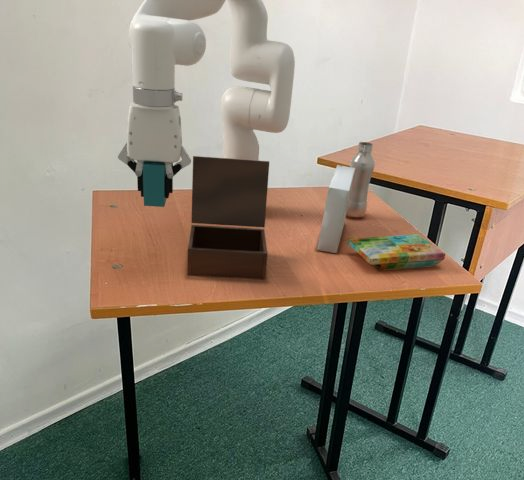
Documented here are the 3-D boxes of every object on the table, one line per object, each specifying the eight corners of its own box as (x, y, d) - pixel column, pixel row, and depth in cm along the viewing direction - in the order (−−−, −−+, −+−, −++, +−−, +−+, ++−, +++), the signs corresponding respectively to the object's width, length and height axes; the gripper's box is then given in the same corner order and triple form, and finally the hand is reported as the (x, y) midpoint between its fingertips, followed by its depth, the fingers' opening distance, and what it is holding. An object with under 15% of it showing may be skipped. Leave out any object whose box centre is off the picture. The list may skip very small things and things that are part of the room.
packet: (164, 207, 116) (163, 166, 112) (143, 205, 116) (142, 164, 111) (166, 198, 121) (166, 158, 116) (147, 196, 120) (146, 157, 116)
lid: (269, 161, 128) (268, 159, 132) (193, 156, 127) (194, 154, 131) (264, 227, 134) (263, 223, 138) (191, 223, 132) (192, 219, 136)
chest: (264, 282, 126) (267, 253, 123) (187, 278, 125) (187, 248, 121) (261, 256, 138) (264, 229, 134) (190, 252, 136) (191, 224, 133)
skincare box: (338, 254, 142) (349, 190, 134) (316, 251, 143) (325, 186, 135) (345, 225, 160) (355, 166, 151) (326, 222, 161) (334, 163, 152)
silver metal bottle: (342, 210, 170) (353, 139, 159) (365, 214, 169) (378, 142, 158) (340, 218, 164) (352, 144, 153) (364, 221, 163) (377, 148, 153)
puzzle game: (446, 250, 138) (370, 255, 132) (441, 268, 140) (367, 274, 134) (420, 231, 147) (348, 235, 141) (416, 249, 150) (345, 253, 143)
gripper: (200, 97, 111) (198, 192, 121) (110, 90, 110) (115, 186, 120) (198, 105, 105) (196, 204, 115) (103, 97, 104) (109, 198, 114)
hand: (155, 194), depth 117 cm, fingers closed on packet, 4 cm apart
